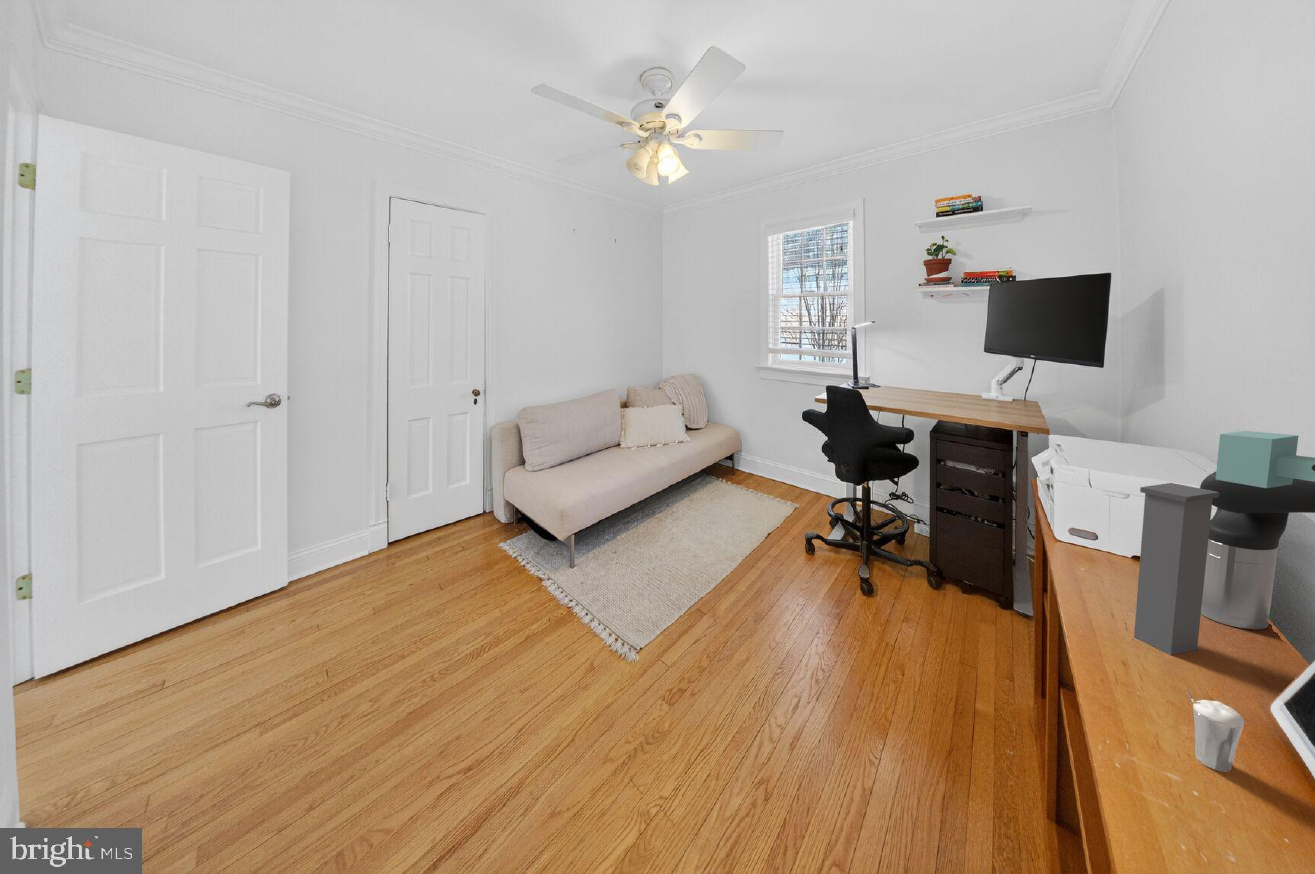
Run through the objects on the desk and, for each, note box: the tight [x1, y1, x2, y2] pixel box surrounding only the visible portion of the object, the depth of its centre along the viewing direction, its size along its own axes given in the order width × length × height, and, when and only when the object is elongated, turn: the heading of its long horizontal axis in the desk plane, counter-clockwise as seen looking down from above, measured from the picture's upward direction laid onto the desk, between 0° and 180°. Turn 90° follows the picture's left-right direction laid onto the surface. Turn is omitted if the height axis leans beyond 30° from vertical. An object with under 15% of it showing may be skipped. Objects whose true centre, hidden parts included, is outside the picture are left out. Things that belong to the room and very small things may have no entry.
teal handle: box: [1215, 430, 1315, 488], centre depth 69 cm, size 15×5×8 cm, turn 7°
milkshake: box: [1185, 687, 1245, 773], centre depth 64 cm, size 4×5×10 cm
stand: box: [1133, 482, 1219, 656], centre depth 87 cm, size 7×7×32 cm
